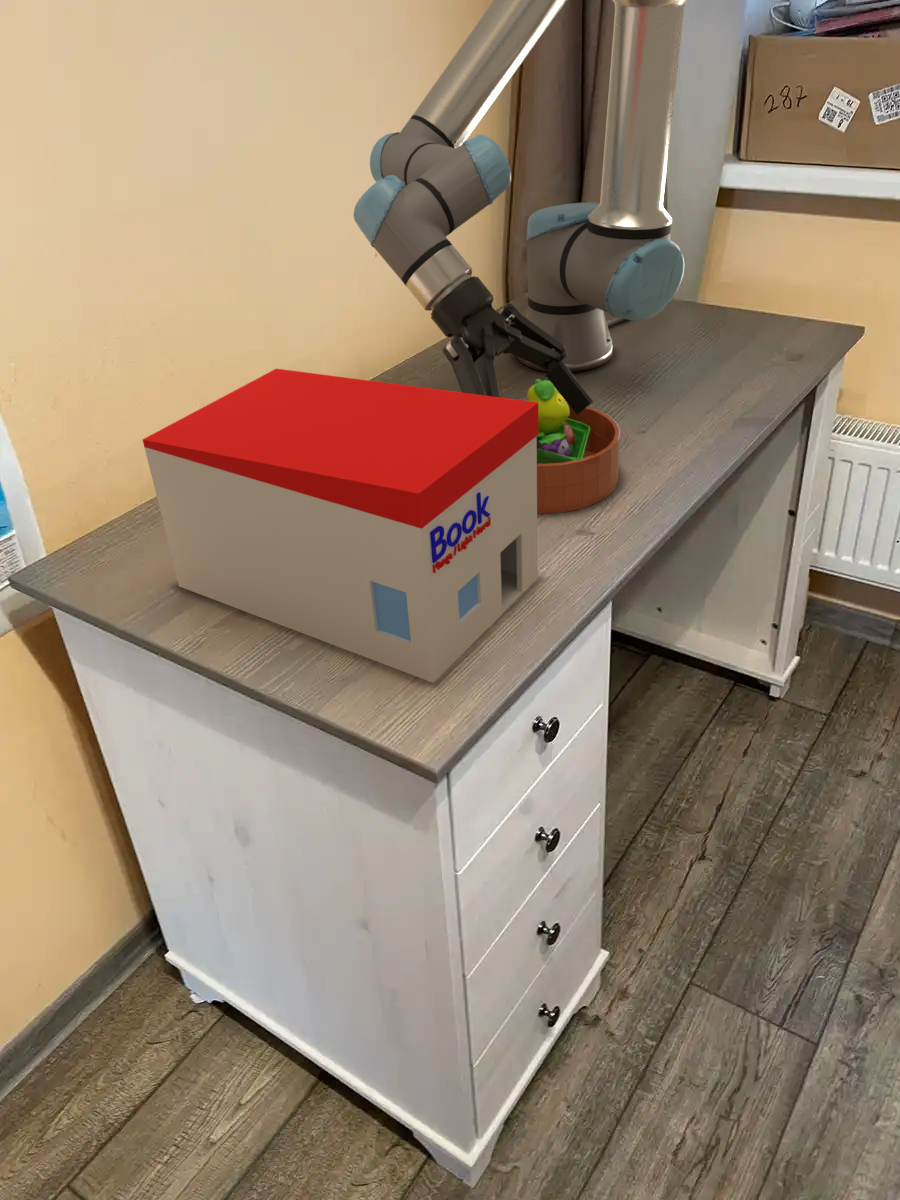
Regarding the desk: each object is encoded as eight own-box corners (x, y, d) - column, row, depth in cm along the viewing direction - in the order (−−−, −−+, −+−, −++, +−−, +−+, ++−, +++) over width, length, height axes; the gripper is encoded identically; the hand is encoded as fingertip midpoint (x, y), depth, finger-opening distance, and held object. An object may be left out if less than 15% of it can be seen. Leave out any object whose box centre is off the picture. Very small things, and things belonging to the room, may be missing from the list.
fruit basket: (569, 497, 125) (598, 414, 119) (500, 475, 125) (525, 392, 119) (579, 459, 134) (606, 381, 128) (515, 439, 135) (539, 360, 128)
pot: (560, 434, 141) (560, 390, 138) (647, 484, 128) (650, 437, 125) (449, 471, 134) (446, 426, 130) (529, 528, 121) (528, 480, 117)
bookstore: (436, 684, 98) (421, 494, 86) (179, 586, 115) (136, 416, 103) (541, 579, 112) (540, 402, 100) (298, 505, 129) (272, 346, 117)
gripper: (486, 282, 136) (586, 406, 138) (376, 346, 119) (490, 487, 121) (520, 246, 131) (623, 376, 132) (409, 308, 114) (528, 456, 115)
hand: (560, 429), depth 126 cm, fingers open, 13 cm apart
